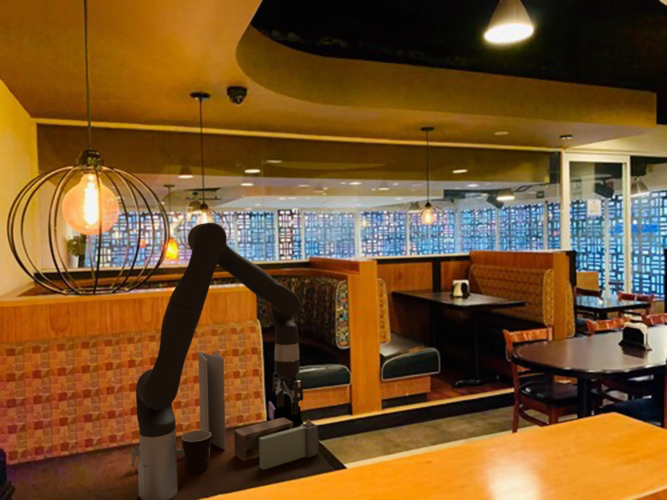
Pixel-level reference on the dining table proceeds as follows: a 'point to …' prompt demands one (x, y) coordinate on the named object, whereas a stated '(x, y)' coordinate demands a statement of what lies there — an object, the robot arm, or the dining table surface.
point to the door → (288, 446)
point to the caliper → (137, 453)
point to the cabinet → (258, 436)
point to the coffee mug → (196, 451)
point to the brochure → (212, 397)
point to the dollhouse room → (284, 414)
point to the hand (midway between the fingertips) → (287, 410)
